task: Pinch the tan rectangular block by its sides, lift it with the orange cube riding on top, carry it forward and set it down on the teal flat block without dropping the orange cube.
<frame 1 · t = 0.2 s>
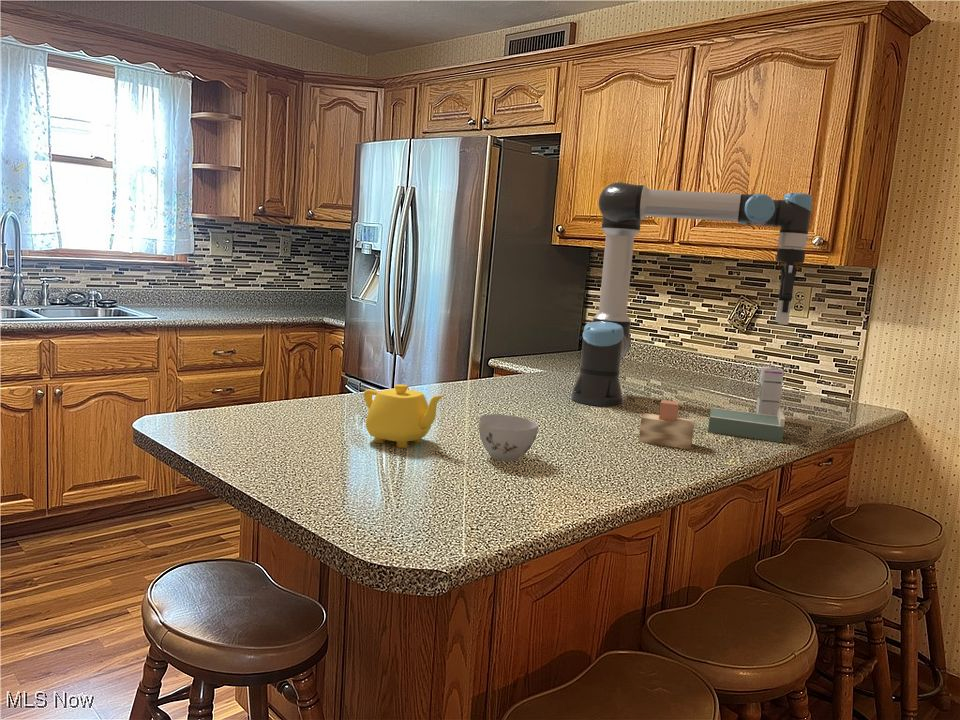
hand: (781, 322, 219), 28 cm above the counter, fingers open, 13 cm apart
teacup: (507, 457, 158), on the counter
orange cube: (668, 418, 180), point 6 cm above the counter
teapot: (400, 442, 163), on the counter
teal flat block: (744, 431, 200), on the counter
tan rectangular block: (665, 443, 181), on the counter
syrup box: (766, 416, 223), on the counter
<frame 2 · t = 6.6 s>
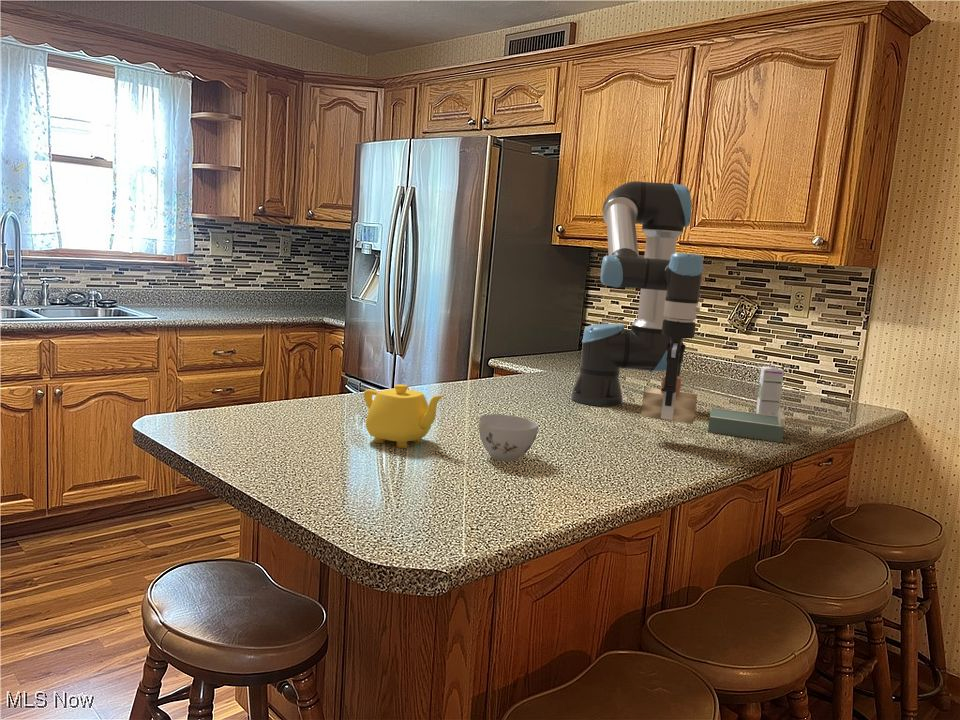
hand: (668, 415, 181), 6 cm above the counter, fingers closed on tan rectangular block, 6 cm apart
orange cube: (670, 393, 180), point 12 cm above the counter, touching tan rectangular block
tan rectangular block: (667, 417, 181), point 6 cm above the counter, touching orange cube, gripper
everything else where it was.
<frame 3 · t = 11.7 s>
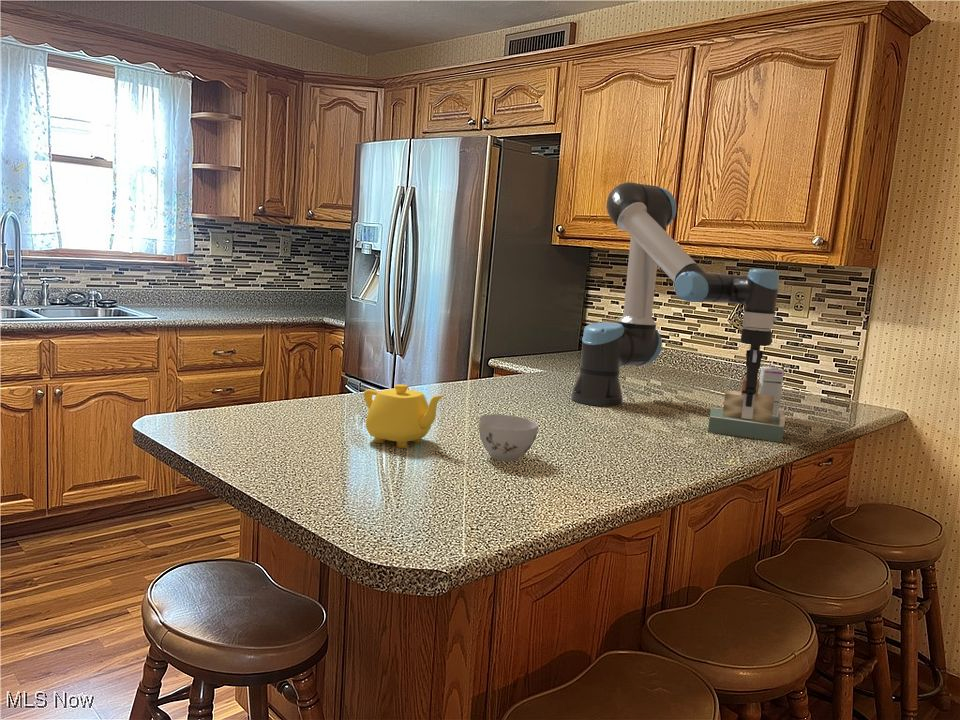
hand: (746, 416, 199), 4 cm above the counter, fingers open, 6 cm apart
orange cube: (749, 394, 198), point 10 cm above the counter, touching tan rectangular block
tan rectangular block: (746, 416, 199), point 4 cm above the counter, touching orange cube, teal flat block
everything else where it was.
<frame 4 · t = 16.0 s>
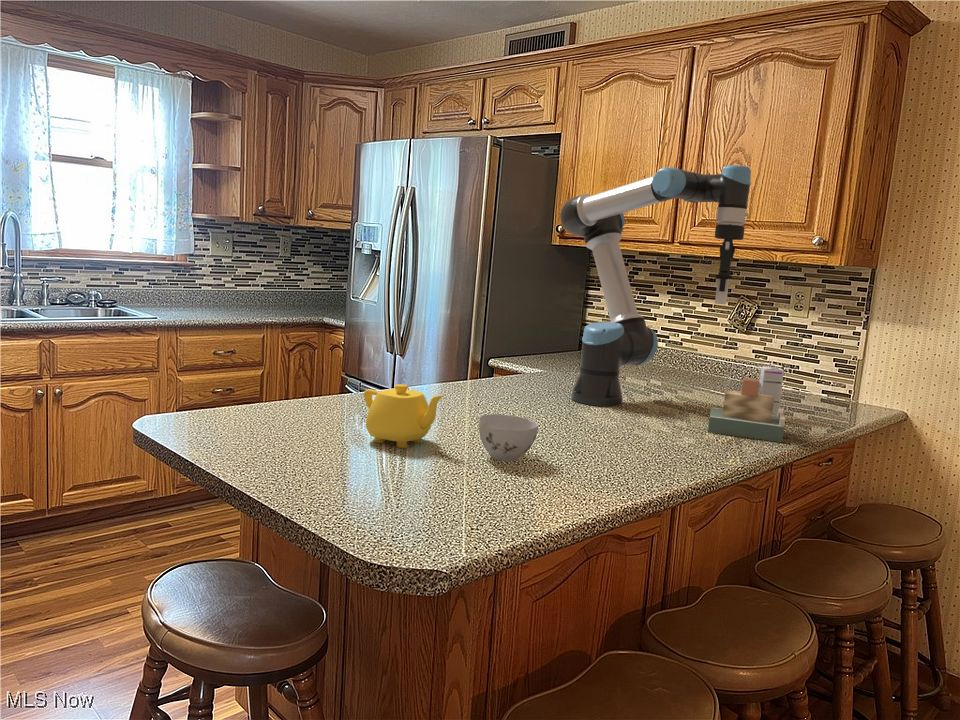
hand: (720, 303, 207), 33 cm above the counter, fingers open, 13 cm apart
nothing on the counter moved.
at the end: tan rectangular block inside the target area on the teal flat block (0.1 cm from its centre), point 4.0 cm above the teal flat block's base; orange cube inside the target area on the tan rectangular block (0.1 cm from its centre), point 6.0 cm above the tan rectangular block's base; the gripper is holding nothing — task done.
